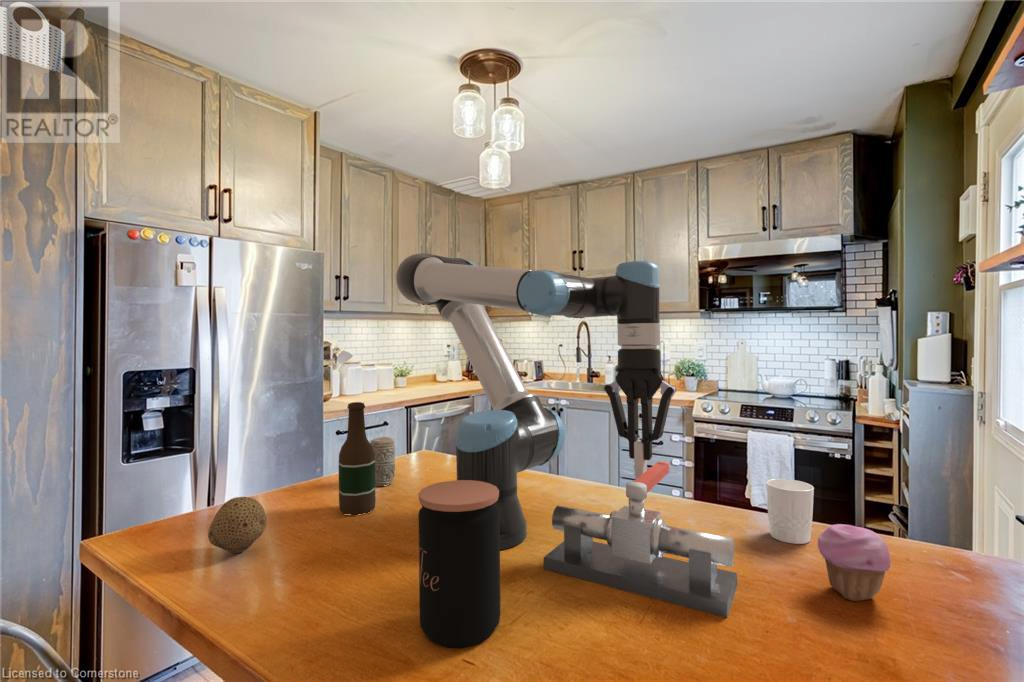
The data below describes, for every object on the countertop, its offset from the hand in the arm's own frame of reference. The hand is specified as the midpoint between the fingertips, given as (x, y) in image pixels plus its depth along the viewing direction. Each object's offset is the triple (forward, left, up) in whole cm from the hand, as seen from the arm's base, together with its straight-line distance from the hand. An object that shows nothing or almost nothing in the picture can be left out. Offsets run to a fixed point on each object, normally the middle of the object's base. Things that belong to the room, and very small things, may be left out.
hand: (640, 476), depth 91 cm
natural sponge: (-61, -39, -13) cm, 74 cm away
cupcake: (+32, -1, -13) cm, 34 cm away
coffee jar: (-13, -37, -13) cm, 41 cm away
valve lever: (+3, -4, 0) cm, 5 cm away
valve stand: (+3, -12, -13) cm, 18 cm away
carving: (-70, +4, -13) cm, 71 cm away
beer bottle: (-60, -13, -13) cm, 63 cm away
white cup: (+23, +18, -13) cm, 32 cm away
